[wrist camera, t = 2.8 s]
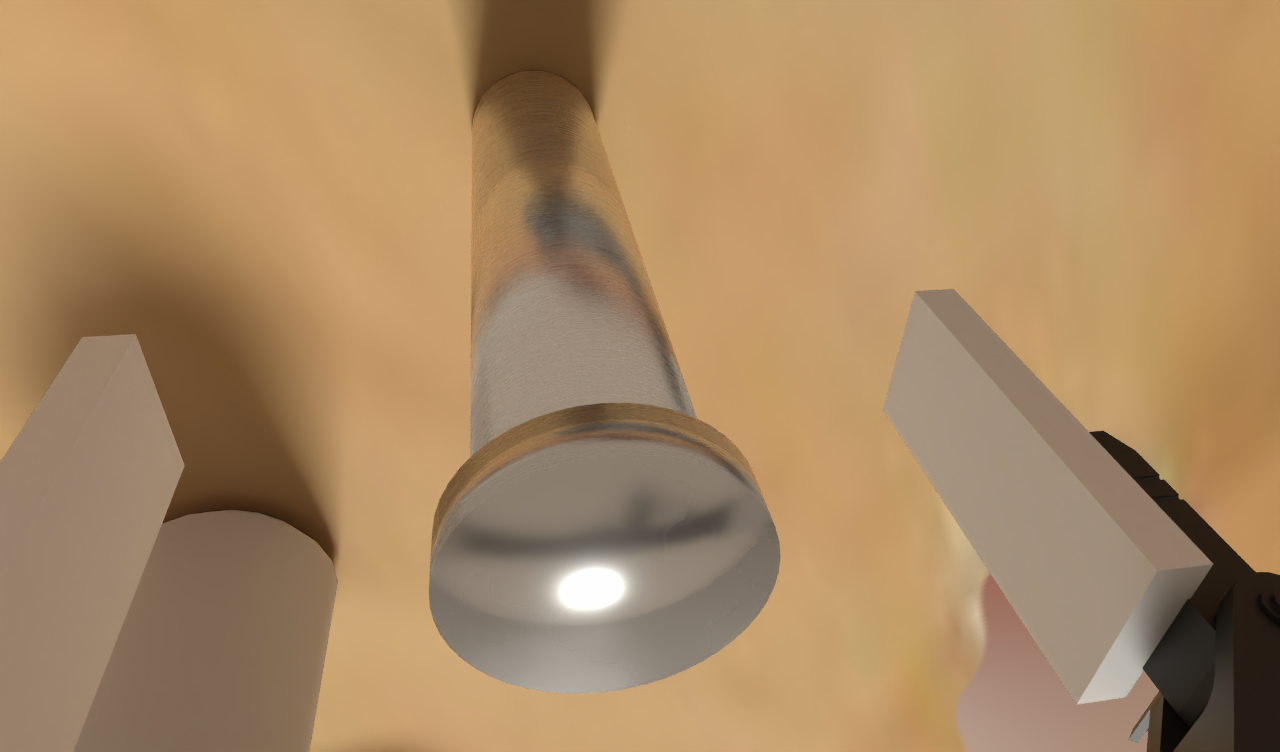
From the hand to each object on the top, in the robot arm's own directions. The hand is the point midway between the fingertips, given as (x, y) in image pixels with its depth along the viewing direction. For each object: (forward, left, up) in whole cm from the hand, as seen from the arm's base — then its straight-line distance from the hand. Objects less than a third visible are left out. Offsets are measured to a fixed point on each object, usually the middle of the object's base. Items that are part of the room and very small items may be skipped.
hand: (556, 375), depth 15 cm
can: (+12, +17, -12) cm, 24 cm away
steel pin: (0, 0, -12) cm, 12 cm away
